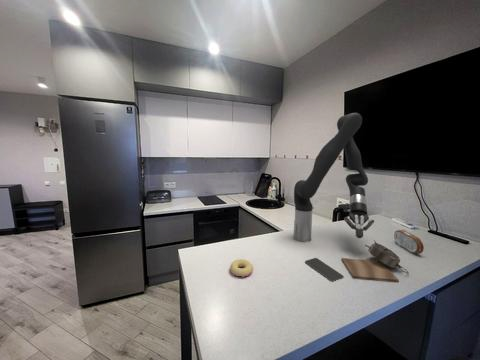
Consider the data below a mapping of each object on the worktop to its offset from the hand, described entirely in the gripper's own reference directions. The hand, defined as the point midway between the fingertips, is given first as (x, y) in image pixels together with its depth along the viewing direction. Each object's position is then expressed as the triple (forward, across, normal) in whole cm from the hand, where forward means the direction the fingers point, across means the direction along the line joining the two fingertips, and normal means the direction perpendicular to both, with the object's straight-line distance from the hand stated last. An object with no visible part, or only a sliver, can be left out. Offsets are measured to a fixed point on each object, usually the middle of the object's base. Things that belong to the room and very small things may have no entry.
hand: (359, 237), depth 90 cm
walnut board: (+14, +2, -1) cm, 14 cm away
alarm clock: (+1, +4, +2) cm, 5 cm away
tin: (-6, +23, +19) cm, 31 cm away
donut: (+30, -46, -16) cm, 57 cm away
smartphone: (+19, -15, -5) cm, 25 cm away
